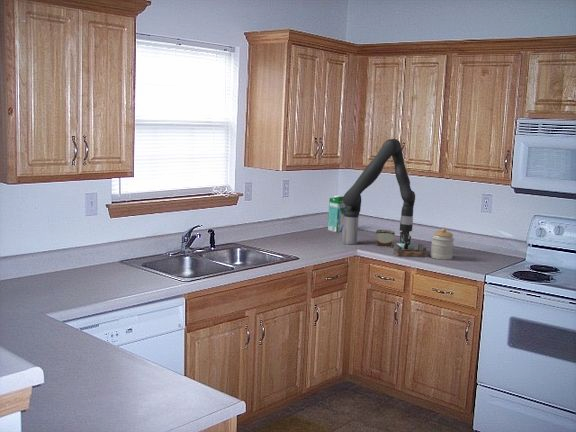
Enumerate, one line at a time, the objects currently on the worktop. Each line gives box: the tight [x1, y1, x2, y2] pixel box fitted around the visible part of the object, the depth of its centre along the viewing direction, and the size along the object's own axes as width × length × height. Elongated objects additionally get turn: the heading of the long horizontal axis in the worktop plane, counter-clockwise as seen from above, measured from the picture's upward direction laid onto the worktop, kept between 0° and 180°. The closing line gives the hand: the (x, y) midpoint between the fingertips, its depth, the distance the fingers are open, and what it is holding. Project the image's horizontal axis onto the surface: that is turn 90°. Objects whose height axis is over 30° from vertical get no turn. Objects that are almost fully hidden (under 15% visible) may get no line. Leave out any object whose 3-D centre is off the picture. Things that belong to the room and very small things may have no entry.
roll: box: [396, 242, 415, 250], centre depth 407 cm, size 10×5×5 cm
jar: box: [430, 227, 455, 261], centre depth 394 cm, size 13×13×18 cm
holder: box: [392, 243, 427, 258], centre depth 397 cm, size 17×9×6 cm, turn 98°
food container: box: [374, 229, 396, 248], centre depth 421 cm, size 12×6×10 cm, turn 84°
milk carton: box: [327, 195, 347, 233], centre depth 464 cm, size 9×9×25 cm
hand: (404, 250), depth 407 cm, fingers closed on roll, 5 cm apart
